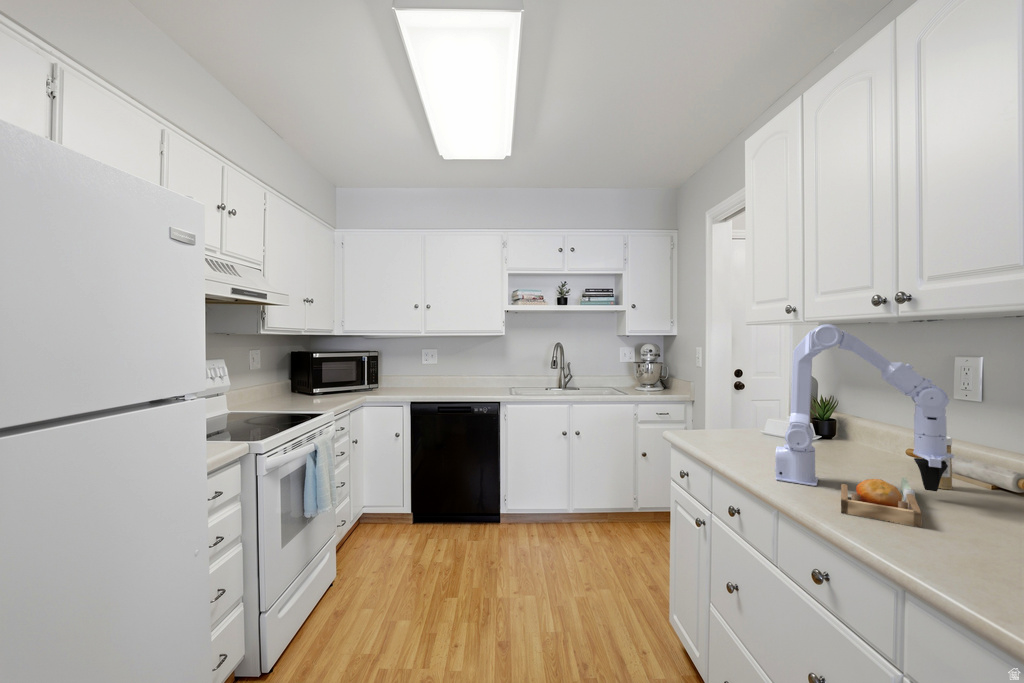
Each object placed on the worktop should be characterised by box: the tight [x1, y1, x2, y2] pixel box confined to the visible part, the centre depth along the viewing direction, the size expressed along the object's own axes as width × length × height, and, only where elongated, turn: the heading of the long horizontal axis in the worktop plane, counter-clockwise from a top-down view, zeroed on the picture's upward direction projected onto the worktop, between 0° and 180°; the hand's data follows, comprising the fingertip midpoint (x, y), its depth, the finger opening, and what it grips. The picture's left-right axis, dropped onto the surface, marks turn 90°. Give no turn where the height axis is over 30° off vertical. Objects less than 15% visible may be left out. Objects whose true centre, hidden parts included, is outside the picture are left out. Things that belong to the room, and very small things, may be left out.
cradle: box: [840, 483, 923, 528], centre depth 100 cm, size 13×13×4 cm
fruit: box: [855, 478, 903, 508], centre depth 100 cm, size 8×8×8 cm
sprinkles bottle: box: [938, 435, 953, 490], centre depth 115 cm, size 5×5×13 cm
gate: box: [900, 476, 916, 502], centre depth 107 cm, size 13×2×3 cm, turn 143°
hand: (930, 490), depth 106 cm, fingers closed
